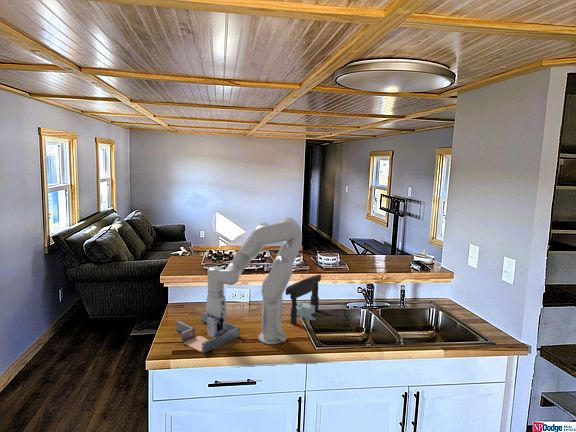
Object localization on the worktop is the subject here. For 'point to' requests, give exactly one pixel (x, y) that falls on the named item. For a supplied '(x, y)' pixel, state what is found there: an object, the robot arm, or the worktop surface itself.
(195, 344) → the terracotta mat
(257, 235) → the robot arm
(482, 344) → the worktop surface
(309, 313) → the stool
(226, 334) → the bent rail channel
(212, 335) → the medicine box
